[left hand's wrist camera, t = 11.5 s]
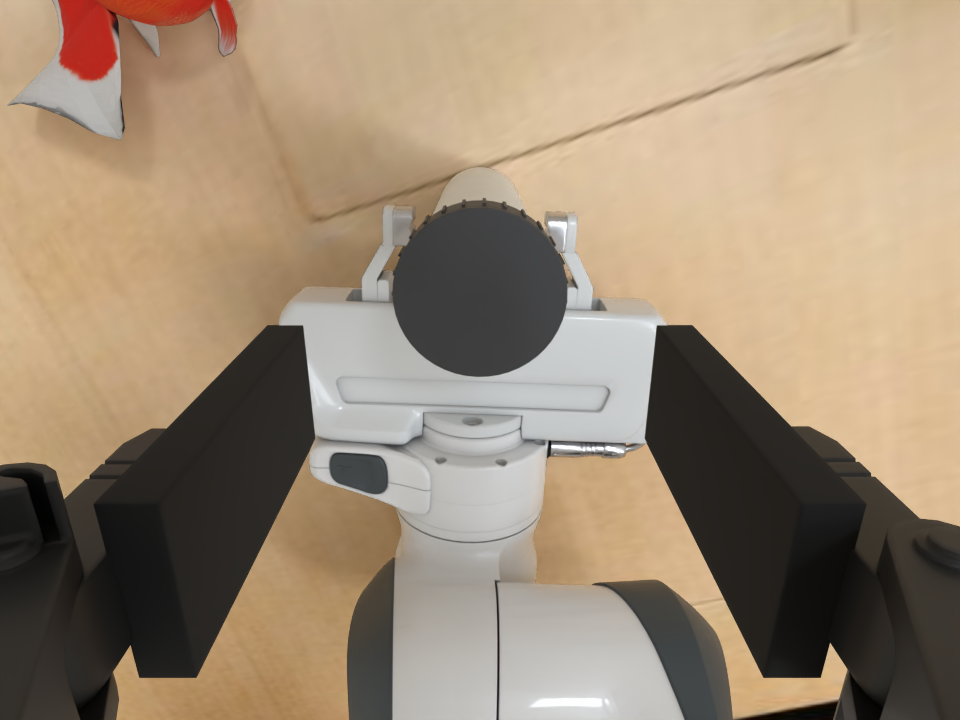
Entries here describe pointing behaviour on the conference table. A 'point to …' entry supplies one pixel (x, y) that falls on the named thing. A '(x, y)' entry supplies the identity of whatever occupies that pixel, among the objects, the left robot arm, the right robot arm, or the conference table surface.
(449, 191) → the jar
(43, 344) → the conference table surface
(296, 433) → the left robot arm
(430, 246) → the lid
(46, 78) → the fish
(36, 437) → the conference table surface
